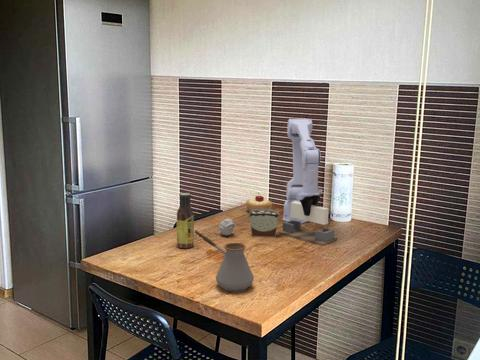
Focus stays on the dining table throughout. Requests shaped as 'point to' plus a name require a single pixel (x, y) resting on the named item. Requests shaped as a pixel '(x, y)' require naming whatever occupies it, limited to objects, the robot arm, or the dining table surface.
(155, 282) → the dining table surface
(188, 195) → the sauce bottle
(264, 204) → the pastry
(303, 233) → the base board
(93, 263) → the dining table surface
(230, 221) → the crumpled paper ball
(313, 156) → the robot arm
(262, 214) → the food container
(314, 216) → the slat
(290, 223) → the end caps
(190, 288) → the dining table surface
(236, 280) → the coffee pot
